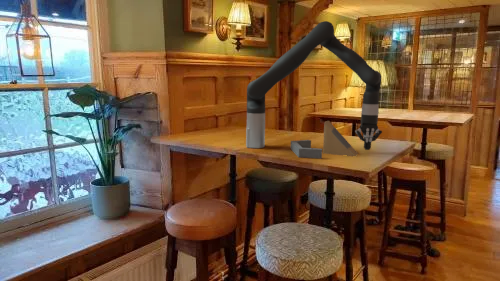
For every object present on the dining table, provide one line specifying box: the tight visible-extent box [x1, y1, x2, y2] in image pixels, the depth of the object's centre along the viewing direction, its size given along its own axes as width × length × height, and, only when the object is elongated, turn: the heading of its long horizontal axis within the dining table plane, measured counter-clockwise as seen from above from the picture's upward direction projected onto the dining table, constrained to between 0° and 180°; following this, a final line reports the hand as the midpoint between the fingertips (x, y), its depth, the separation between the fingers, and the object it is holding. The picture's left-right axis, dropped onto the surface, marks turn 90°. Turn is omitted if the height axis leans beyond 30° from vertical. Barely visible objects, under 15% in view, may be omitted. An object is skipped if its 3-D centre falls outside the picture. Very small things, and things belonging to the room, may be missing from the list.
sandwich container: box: [322, 120, 359, 157], centre depth 168 cm, size 9×15×15 cm, turn 66°
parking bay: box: [290, 139, 323, 159], centre depth 169 cm, size 10×24×4 cm, turn 5°
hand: (367, 149), depth 172 cm, fingers closed
